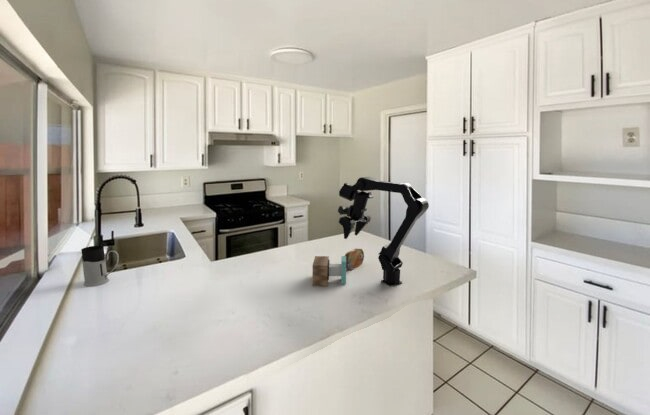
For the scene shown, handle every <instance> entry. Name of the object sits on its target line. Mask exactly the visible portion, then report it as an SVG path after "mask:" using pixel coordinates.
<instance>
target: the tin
mask: <svg viewBox="0 0 650 415" xmlns="http://www.w3.org/2000/svg"><path fill="white" fill-rule="evenodd" d="M344 256H346V270H350V271H352V270H355V269H357V268H358V267H360V266H362V264H363V263H364V259H365V253H364V250H363V249H362V248H354V249H352V250H349V251H348V252H346V253H345V254H344Z"/></svg>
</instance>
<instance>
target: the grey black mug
mask: <svg viewBox="0 0 650 415" xmlns="http://www.w3.org/2000/svg"><path fill="white" fill-rule="evenodd" d="M80 251H81V261H82V269H83V277H84V283H83V286H84V287H86V288H91V287H99V286H102V285H105V284H108V283H109V281H110V280H109V277H108V275H110V274H111V273H112V272H113V271H115V269H116V268H117V267H118V264H119V261H120V260H119V257H120V256H119V253H118V252H117V251H116V250H110V251H108V252H107V253H106V256H105V247H104V245H90V246H87V247H86V246H85V247H83V248H81V249H80ZM111 252H112V253H115V254H116V264H115V265H114V267H113V269H111V270H110V271H109V272H108V270H107V261H108V260H109V254H110V253H111Z"/></svg>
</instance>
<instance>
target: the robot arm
mask: <svg viewBox="0 0 650 415" xmlns="http://www.w3.org/2000/svg"><path fill="white" fill-rule="evenodd" d="M368 191H369V192H368ZM372 191H380V192H382V191H383V192H390V193H395V194H396V193H398V194H400V195H401V196H402V198H403V201H404V203H405V204H406V205H407V207H406V210H405V216H404V219H403V220H402V222H401V224H400V226H399V227H398V229H397V231H396V232H395V235H394V236H393V238H392V239H391V241H390V243H388V244H386V245H384V246H382V247H381V250H380V251H379V252H378V257H377V258H378V261H379V263H380V265H381V270H382V271H383V274H382V275H383V276H382V279H381V280H380V282H381V283H383V284H386V285H388V286H391V287H395V286H398V285H400V284H403V281H401V279H400V278H401V269H400V268H402V266H403V264H404V263H403V261H402V260H401V259H400V257H399V255H400V251H401V247H402V245H403V244H404V242H405V240H406V239H407V238H408V235H409V234H410V232H411V230H412V228H413V227H414V225H415V224H416V222H417V221H418V220H419V219H420V218H421V217H422V216H423V215H424V214H425V213H426V212H427V210H428V209H429V207H430V204H429V202H428V200H427V199H426V198H424V197H423V196H422V195H421V193H419V192H418V191H417V190H416V189H415V188H414V187H413V186H412V185H411V184H410V183H408V182H406V183H402V182H393V181H386V180H385V181H383V180H379V179H377V178H374V177H372V176H365V177H359V178H358V179H357V180H356V182H355V183H354V184H350V183H348V182H344V183H343V185H342V186H341V188H340V190H339V191H338V194H339V197H340V198H343V199H345V200H347V201H349V202H351V201H353V202H352V204H350V205H349V206H344V205H340V206H339V207H338V209H337V212H338V213H339V215H344V216H341V217H339V219H338V224H339V225H341V227H342V228H343V229H342V230H343V238H344V239H345V240H347V239H348V238H349V236H350V234H351V233H352V232H353V230H354V236H358V234H360V233H361V232H362V230H364V228H365V227H366V226H367V225H368V223H370V222H371V220H372V217H371V216H370V215H369V214H367V213H365V212H366V211H367V210H368V208H367V204H368V200H369V199H374V195H373V194H372Z"/></svg>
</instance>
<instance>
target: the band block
mask: <svg viewBox="0 0 650 415" xmlns="http://www.w3.org/2000/svg"><path fill="white" fill-rule="evenodd" d="M329 258H330V256H327V255H326V256H325V255H324V256H323V255H319V256H318V255H315V256H314V258H313V262H312V287H325V288H326V287H328V283H329V281H330V276H329V264H330V262H331V261H330V259H329Z"/></svg>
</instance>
